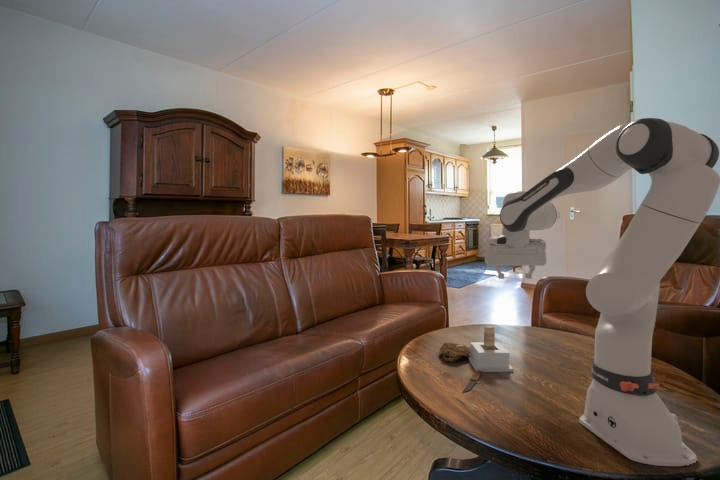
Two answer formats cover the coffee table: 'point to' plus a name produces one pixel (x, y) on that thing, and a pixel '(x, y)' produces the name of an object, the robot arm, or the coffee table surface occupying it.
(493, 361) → the socket
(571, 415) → the coffee table surface
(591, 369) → the robot arm
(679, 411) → the coffee table surface
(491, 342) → the peg
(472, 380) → the knife
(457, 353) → the decorative rock
